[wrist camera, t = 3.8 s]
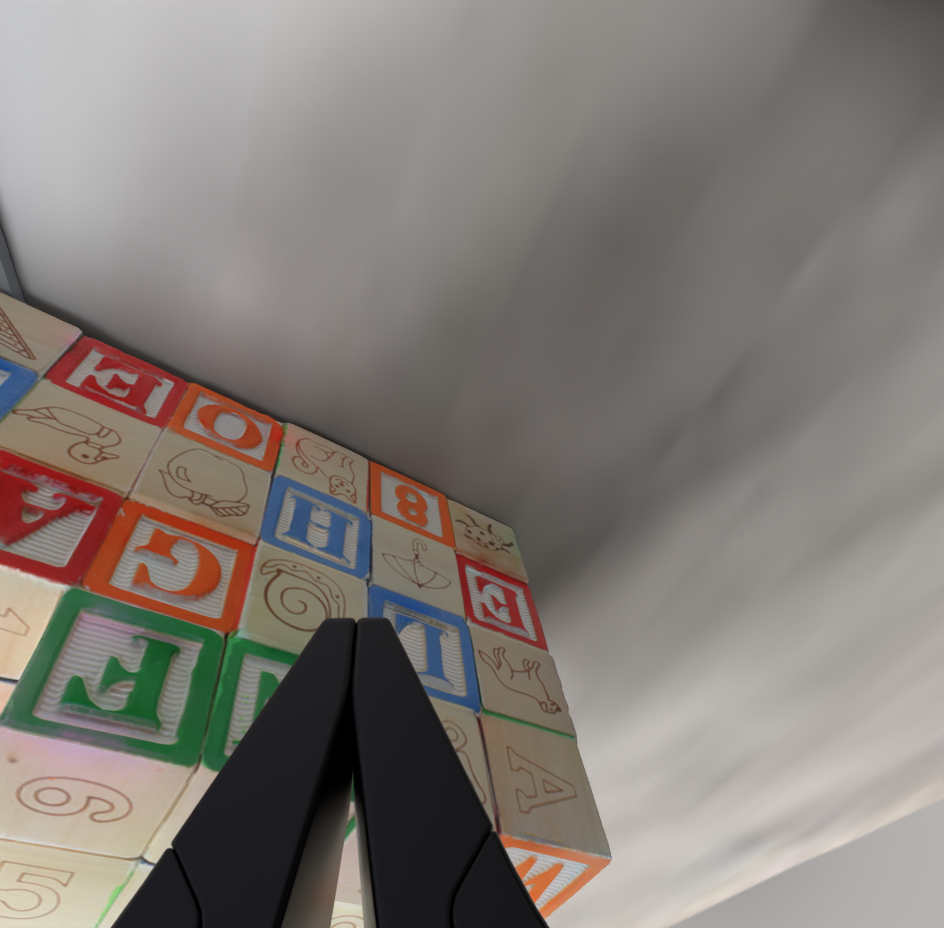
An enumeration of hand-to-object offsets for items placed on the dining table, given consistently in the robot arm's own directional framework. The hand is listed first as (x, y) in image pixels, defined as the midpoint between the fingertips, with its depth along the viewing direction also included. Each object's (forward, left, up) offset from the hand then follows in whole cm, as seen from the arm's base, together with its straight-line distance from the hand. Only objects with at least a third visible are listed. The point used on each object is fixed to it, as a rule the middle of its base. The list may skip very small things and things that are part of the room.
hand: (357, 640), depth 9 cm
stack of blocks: (+6, +5, -13) cm, 15 cm away
